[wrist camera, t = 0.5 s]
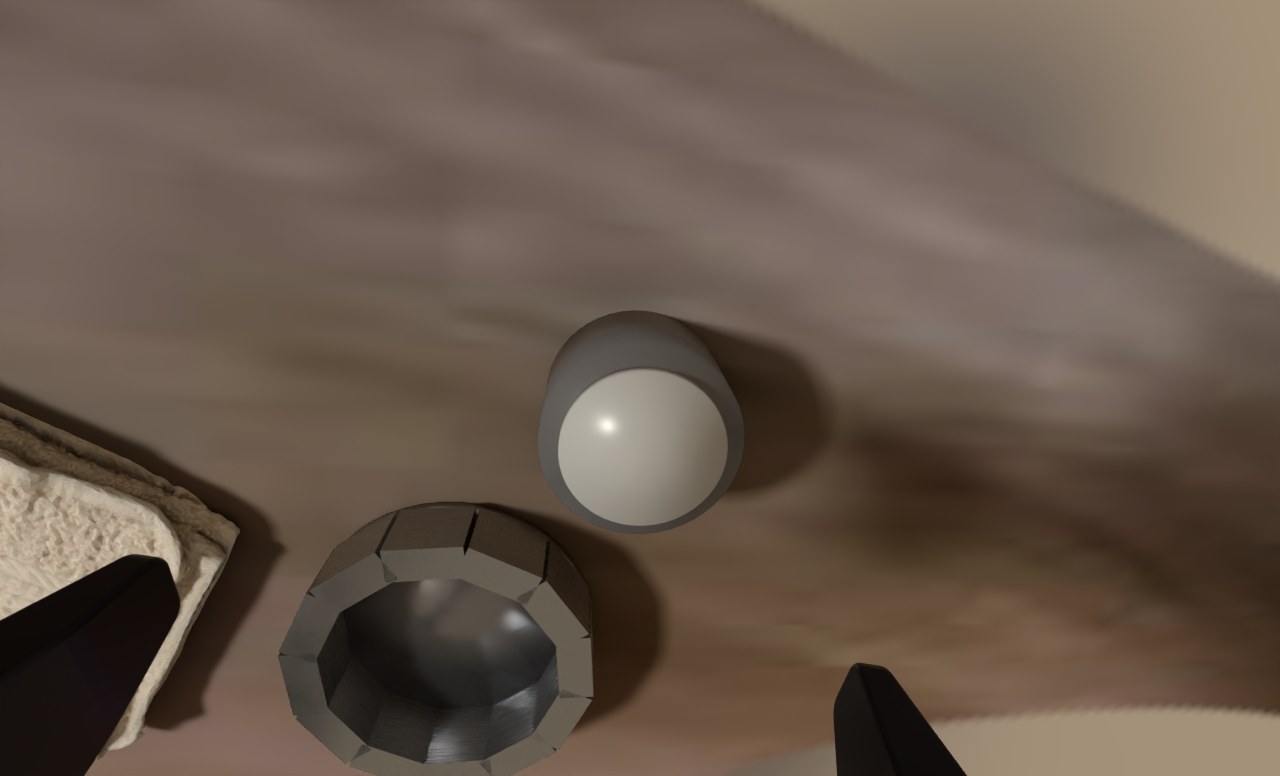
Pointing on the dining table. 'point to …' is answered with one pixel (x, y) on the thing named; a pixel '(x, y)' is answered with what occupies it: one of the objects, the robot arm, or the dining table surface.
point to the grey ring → (442, 645)
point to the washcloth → (100, 533)
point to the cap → (638, 424)
